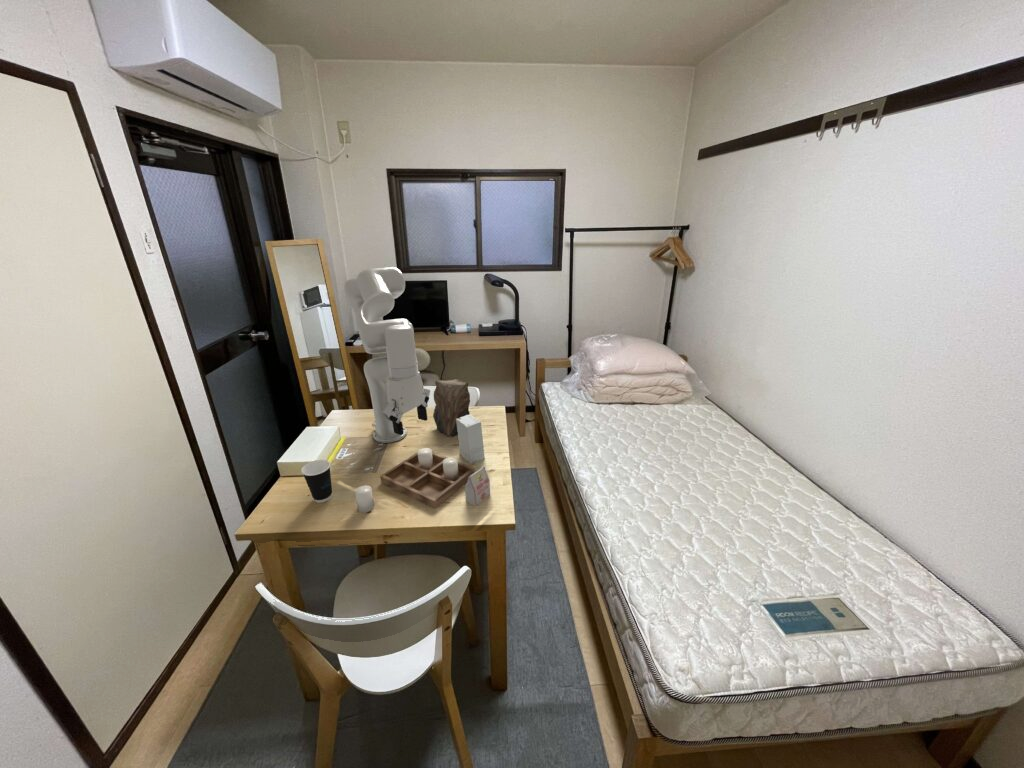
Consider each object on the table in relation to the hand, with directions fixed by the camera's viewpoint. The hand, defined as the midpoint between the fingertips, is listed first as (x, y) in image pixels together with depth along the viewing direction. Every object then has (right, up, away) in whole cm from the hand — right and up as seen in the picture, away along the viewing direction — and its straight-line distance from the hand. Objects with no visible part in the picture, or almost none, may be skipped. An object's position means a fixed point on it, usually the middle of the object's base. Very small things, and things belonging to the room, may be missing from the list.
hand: (411, 426), depth 117 cm
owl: (+5, -6, +44) cm, 44 cm away
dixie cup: (-28, -23, +7) cm, 37 cm away
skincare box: (+15, -14, +26) cm, 33 cm away
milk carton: (+19, -23, +4) cm, 30 cm away
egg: (-14, -24, +2) cm, 28 cm away
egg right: (+10, -18, +14) cm, 24 cm away
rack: (+2, -19, +13) cm, 23 cm away
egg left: (0, -16, +19) cm, 25 cm away
